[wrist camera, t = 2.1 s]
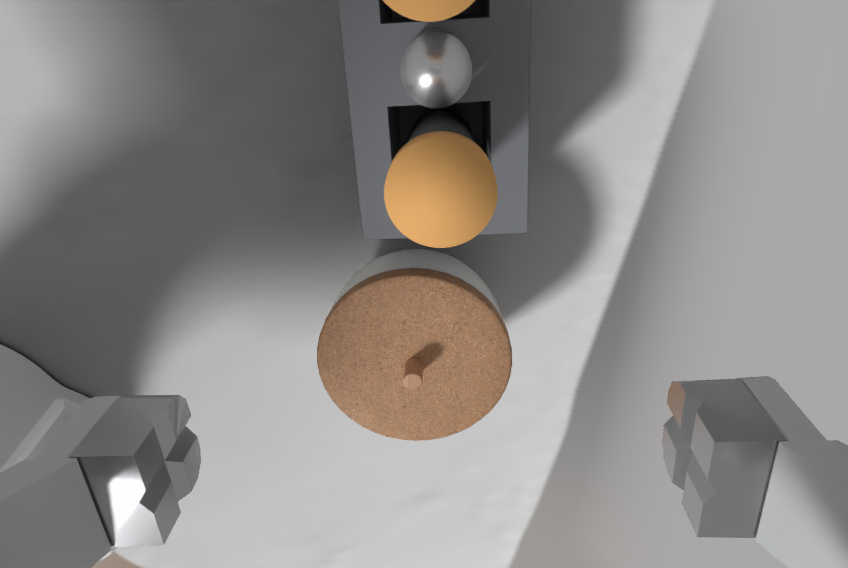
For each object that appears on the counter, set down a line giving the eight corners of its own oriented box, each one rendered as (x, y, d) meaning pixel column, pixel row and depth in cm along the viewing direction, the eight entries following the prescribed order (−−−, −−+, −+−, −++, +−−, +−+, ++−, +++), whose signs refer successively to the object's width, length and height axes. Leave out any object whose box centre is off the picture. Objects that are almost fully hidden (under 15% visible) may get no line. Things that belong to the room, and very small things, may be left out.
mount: (510, 185, 37) (527, 232, 30) (378, 192, 37) (363, 240, 30) (511, -130, 30) (533, -169, 23) (350, -118, 31) (321, -153, 23)
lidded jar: (503, 223, 38) (521, 289, 30) (497, 369, 43) (510, 462, 34) (331, 223, 38) (300, 289, 30) (343, 368, 43) (319, 460, 34)
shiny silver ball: (469, 95, 27) (473, 106, 24) (406, 98, 27) (402, 110, 25) (468, 26, 26) (471, 30, 23) (402, 30, 26) (397, 34, 23)
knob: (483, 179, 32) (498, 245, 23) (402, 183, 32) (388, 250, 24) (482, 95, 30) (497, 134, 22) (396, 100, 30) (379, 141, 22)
